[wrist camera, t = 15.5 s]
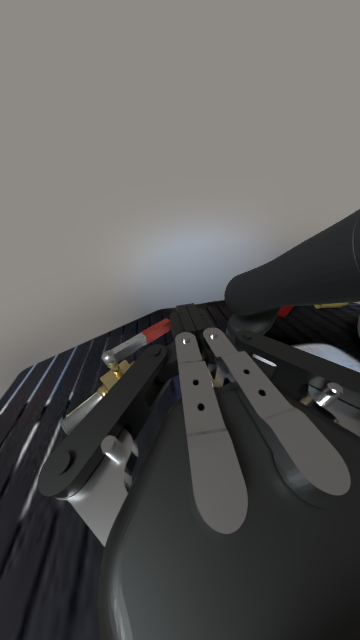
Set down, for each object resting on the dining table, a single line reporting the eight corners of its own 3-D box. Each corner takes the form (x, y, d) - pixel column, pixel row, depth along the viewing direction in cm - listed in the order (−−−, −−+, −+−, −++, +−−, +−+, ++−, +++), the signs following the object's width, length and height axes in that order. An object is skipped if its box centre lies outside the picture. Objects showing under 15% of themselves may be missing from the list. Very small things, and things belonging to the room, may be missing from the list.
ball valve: (343, 310, 74) (328, 298, 81) (358, 293, 67) (340, 282, 74) (317, 313, 75) (305, 301, 82) (330, 297, 67) (315, 285, 74)
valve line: (155, 352, 55) (149, 327, 48) (168, 362, 52) (163, 336, 44) (69, 423, 38) (37, 401, 30) (79, 445, 34) (46, 427, 26)
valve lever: (109, 369, 35) (103, 360, 33) (104, 362, 37) (99, 354, 35) (172, 329, 46) (171, 321, 44) (166, 325, 48) (165, 317, 46)
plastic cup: (283, 322, 68) (294, 300, 60) (263, 311, 76) (271, 290, 68) (298, 316, 71) (310, 294, 64) (278, 305, 79) (287, 285, 71)
